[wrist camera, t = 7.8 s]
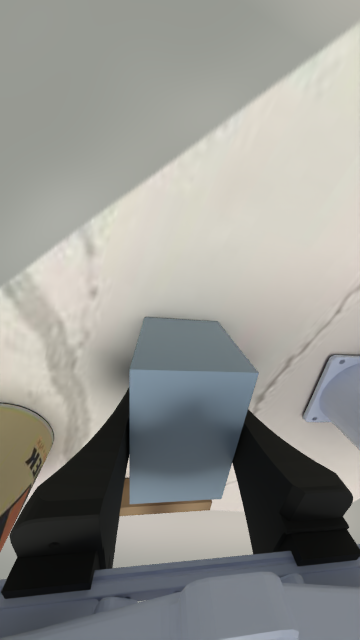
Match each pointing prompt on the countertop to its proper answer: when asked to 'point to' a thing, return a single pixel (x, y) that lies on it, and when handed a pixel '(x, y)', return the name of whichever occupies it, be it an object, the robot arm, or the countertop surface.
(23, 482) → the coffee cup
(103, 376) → the countertop surface
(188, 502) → the brown rectangular block
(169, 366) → the blue-grey rectangular block
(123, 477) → the robot arm
